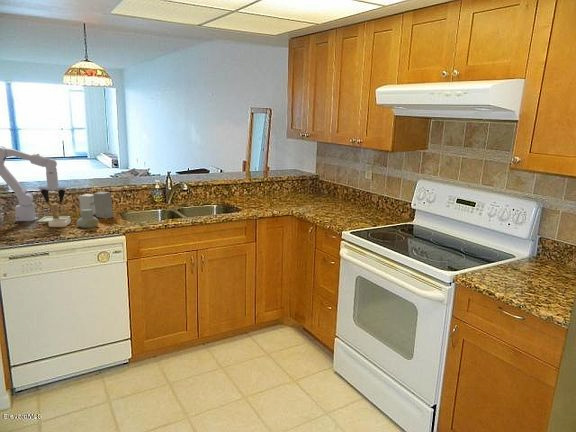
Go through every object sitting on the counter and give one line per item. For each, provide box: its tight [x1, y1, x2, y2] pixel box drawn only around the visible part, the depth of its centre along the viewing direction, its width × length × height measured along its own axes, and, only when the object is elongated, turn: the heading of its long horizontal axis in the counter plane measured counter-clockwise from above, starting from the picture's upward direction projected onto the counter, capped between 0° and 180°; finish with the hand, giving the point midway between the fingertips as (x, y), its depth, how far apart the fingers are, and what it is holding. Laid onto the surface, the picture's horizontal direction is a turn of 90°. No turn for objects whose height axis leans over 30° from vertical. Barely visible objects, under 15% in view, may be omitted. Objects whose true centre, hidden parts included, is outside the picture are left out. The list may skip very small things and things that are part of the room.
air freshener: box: [76, 209, 99, 229], centre depth 237 cm, size 11×8×10 cm
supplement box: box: [78, 193, 96, 216], centre depth 265 cm, size 7×7×13 cm
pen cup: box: [47, 218, 72, 228], centre depth 239 cm, size 9×9×3 cm
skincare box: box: [93, 190, 114, 220], centre depth 259 cm, size 8×7×16 cm
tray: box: [36, 215, 71, 223], centre depth 250 cm, size 14×12×1 cm
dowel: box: [51, 203, 60, 219], centre depth 249 cm, size 3×3×9 cm
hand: (54, 202), depth 252 cm, fingers open, 7 cm apart
